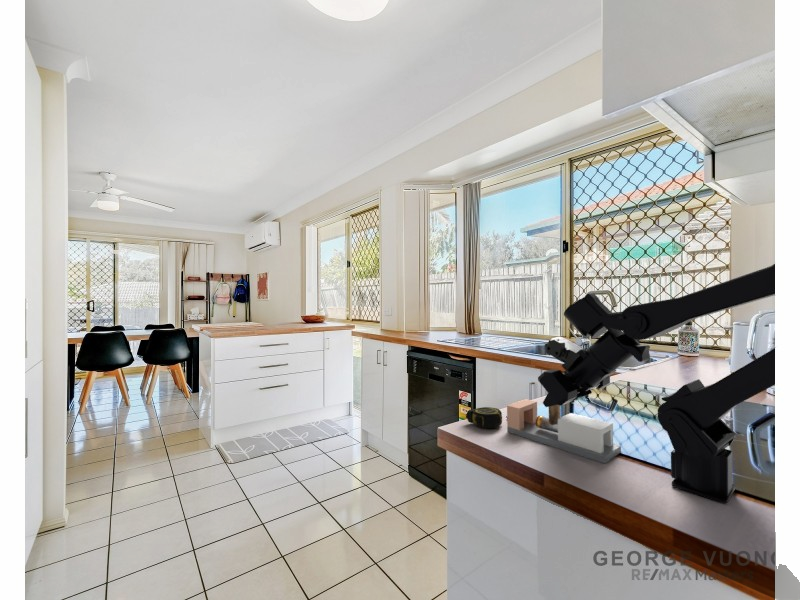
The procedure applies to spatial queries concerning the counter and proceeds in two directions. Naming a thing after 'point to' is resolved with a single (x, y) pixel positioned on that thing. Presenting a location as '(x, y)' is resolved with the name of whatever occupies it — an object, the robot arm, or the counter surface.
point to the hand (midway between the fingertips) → (547, 403)
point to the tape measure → (485, 417)
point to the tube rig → (565, 432)
